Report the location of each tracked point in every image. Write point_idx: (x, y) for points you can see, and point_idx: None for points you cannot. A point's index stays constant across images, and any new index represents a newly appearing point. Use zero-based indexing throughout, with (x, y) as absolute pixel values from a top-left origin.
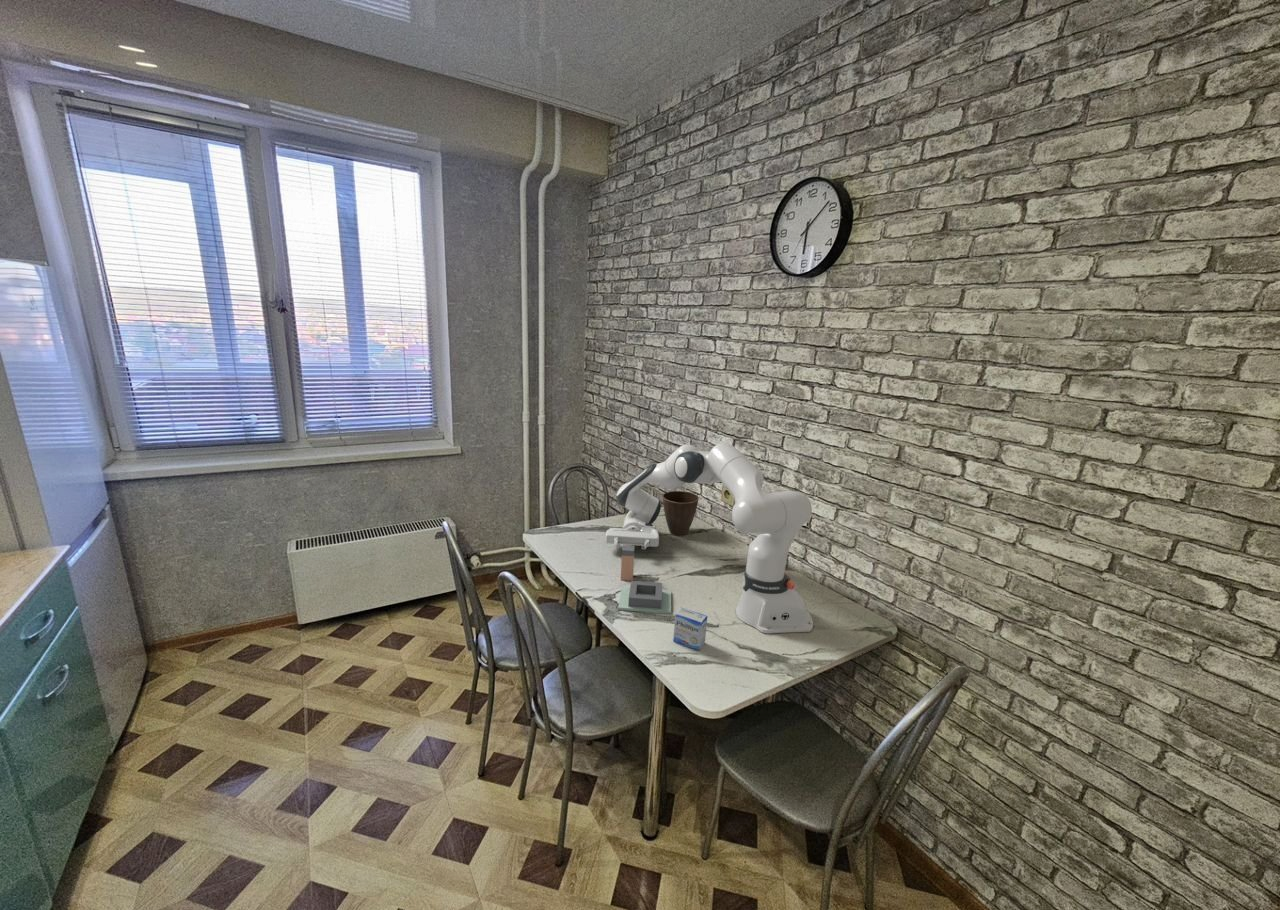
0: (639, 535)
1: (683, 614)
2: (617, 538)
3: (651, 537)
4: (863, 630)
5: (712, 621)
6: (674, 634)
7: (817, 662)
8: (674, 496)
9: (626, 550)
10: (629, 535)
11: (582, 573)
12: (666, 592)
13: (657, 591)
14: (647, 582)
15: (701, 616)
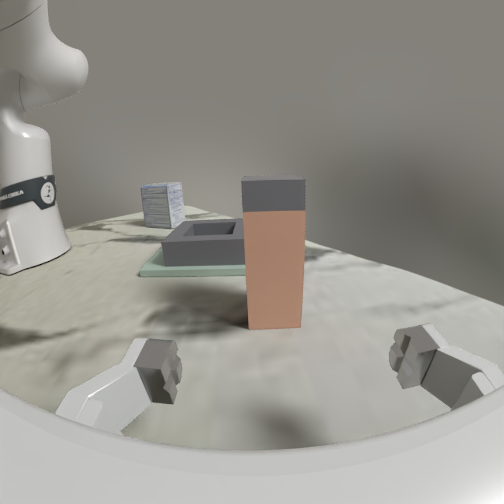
0: (159, 500)
1: (171, 182)
2: (476, 380)
3: (14, 404)
4: None
5: (110, 243)
6: (183, 212)
7: None
8: None
9: (276, 175)
10: (375, 460)
11: (432, 302)
12: (153, 266)
13: (184, 229)
14: (202, 239)
15: (149, 185)
